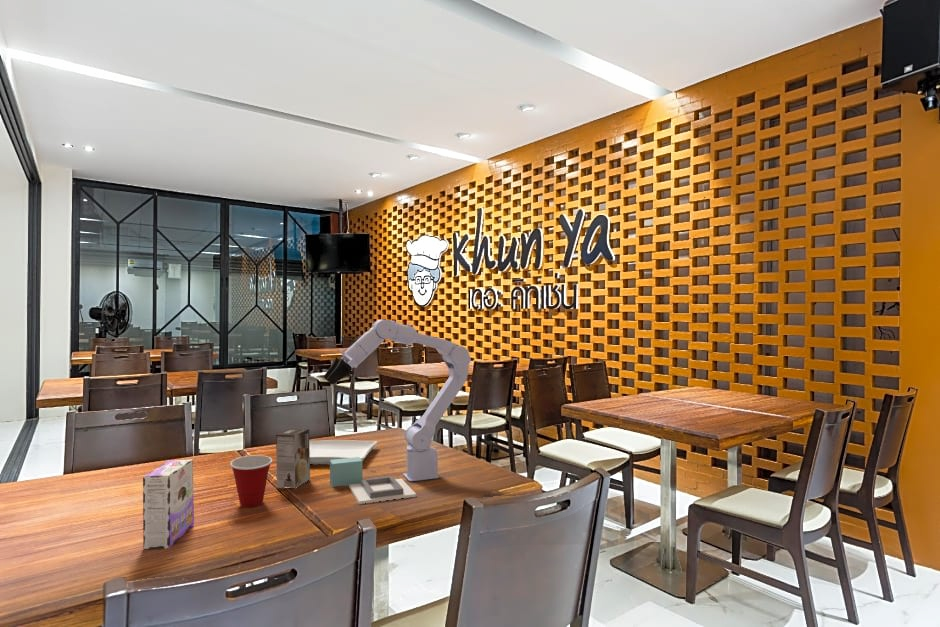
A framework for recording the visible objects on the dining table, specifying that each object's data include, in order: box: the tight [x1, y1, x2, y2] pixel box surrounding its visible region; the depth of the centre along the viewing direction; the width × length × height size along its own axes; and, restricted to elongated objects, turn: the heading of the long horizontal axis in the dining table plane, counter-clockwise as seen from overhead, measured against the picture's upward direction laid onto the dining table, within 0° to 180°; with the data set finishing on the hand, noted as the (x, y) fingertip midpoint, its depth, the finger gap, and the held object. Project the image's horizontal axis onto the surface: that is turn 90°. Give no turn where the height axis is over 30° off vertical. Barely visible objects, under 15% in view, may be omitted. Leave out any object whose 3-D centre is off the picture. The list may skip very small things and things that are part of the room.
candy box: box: [142, 458, 195, 550], centre depth 131 cm, size 14×6×16 cm, turn 5°
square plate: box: [309, 439, 378, 466], centre depth 203 cm, size 27×27×4 cm
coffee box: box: [275, 428, 311, 489], centre depth 171 cm, size 9×6×16 cm
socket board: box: [348, 475, 417, 505], centre depth 163 cm, size 16×16×2 cm
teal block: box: [329, 457, 364, 488], centre depth 172 cm, size 9×5×7 cm, turn 112°
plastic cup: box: [229, 454, 273, 508], centre depth 154 cm, size 11×11×12 cm
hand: (327, 380), depth 167 cm, fingers open, 7 cm apart
